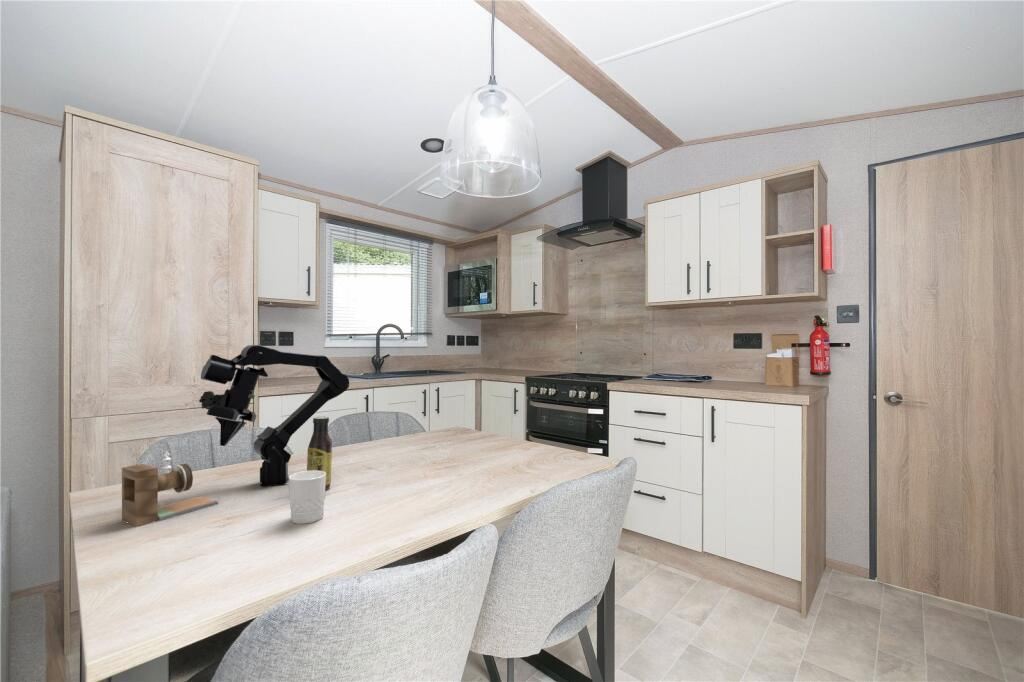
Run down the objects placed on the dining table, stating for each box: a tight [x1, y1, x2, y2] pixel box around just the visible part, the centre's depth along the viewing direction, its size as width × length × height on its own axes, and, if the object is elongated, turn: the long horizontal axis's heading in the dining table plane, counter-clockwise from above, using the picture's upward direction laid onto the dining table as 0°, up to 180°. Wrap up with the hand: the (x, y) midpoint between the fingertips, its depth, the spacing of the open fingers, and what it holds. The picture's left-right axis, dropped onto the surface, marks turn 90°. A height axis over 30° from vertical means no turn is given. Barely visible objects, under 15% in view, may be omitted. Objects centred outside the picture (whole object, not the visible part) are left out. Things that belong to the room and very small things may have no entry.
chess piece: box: [161, 451, 172, 474], centre depth 130 cm, size 5×5×10 cm
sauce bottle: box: [306, 415, 333, 491], centre depth 129 cm, size 6×6×20 cm
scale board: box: [158, 495, 219, 521], centre depth 114 cm, size 13×8×1 cm, turn 151°
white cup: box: [288, 470, 326, 525], centre depth 108 cm, size 8×8×10 cm
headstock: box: [121, 463, 159, 527], centre depth 106 cm, size 4×7×12 cm, turn 61°
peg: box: [158, 463, 194, 493], centre depth 111 cm, size 8×6×6 cm
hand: (222, 445), depth 125 cm, fingers closed
